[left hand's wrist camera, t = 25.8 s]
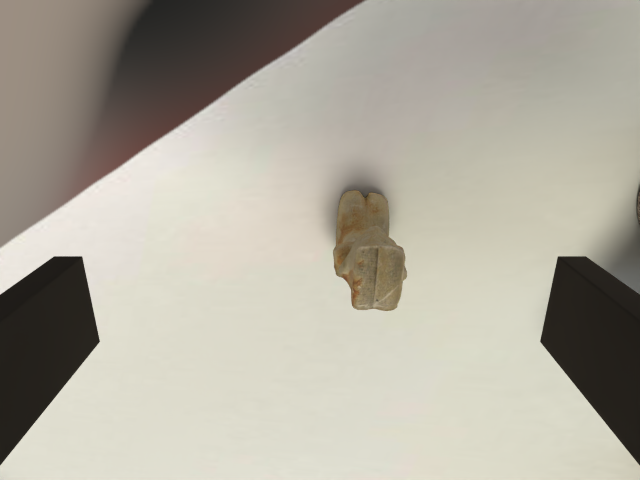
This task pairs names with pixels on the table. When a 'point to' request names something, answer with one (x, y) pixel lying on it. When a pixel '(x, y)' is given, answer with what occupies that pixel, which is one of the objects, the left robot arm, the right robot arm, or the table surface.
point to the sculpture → (368, 252)
